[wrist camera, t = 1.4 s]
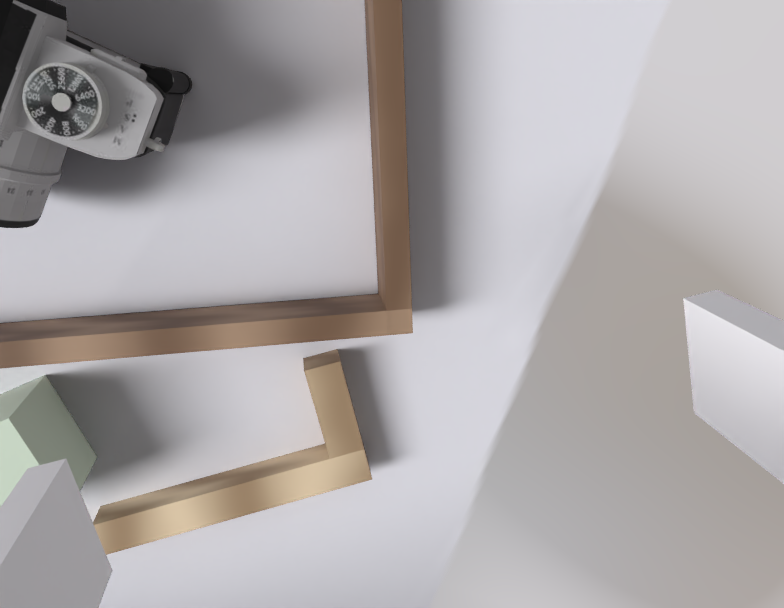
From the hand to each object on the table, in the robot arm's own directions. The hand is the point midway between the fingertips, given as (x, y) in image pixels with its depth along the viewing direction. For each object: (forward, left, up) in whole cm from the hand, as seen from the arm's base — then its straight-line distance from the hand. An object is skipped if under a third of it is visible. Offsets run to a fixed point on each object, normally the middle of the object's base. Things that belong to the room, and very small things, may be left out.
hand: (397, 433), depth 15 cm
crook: (-6, -10, -21) cm, 24 cm away
